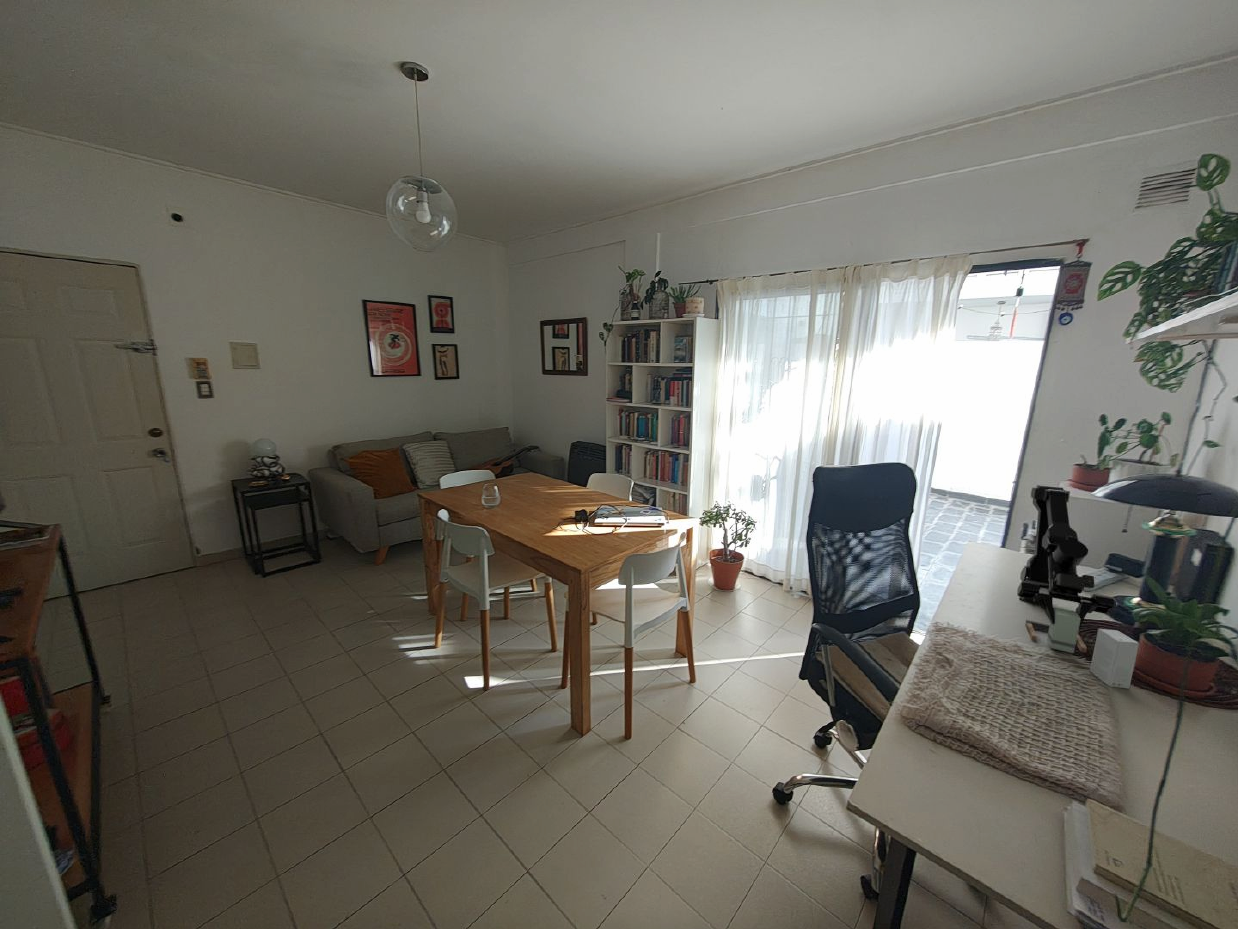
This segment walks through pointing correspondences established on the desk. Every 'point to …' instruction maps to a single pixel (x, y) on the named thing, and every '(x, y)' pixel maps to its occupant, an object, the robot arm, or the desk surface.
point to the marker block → (1064, 630)
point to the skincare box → (1114, 658)
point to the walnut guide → (1044, 627)
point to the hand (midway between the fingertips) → (1065, 626)
